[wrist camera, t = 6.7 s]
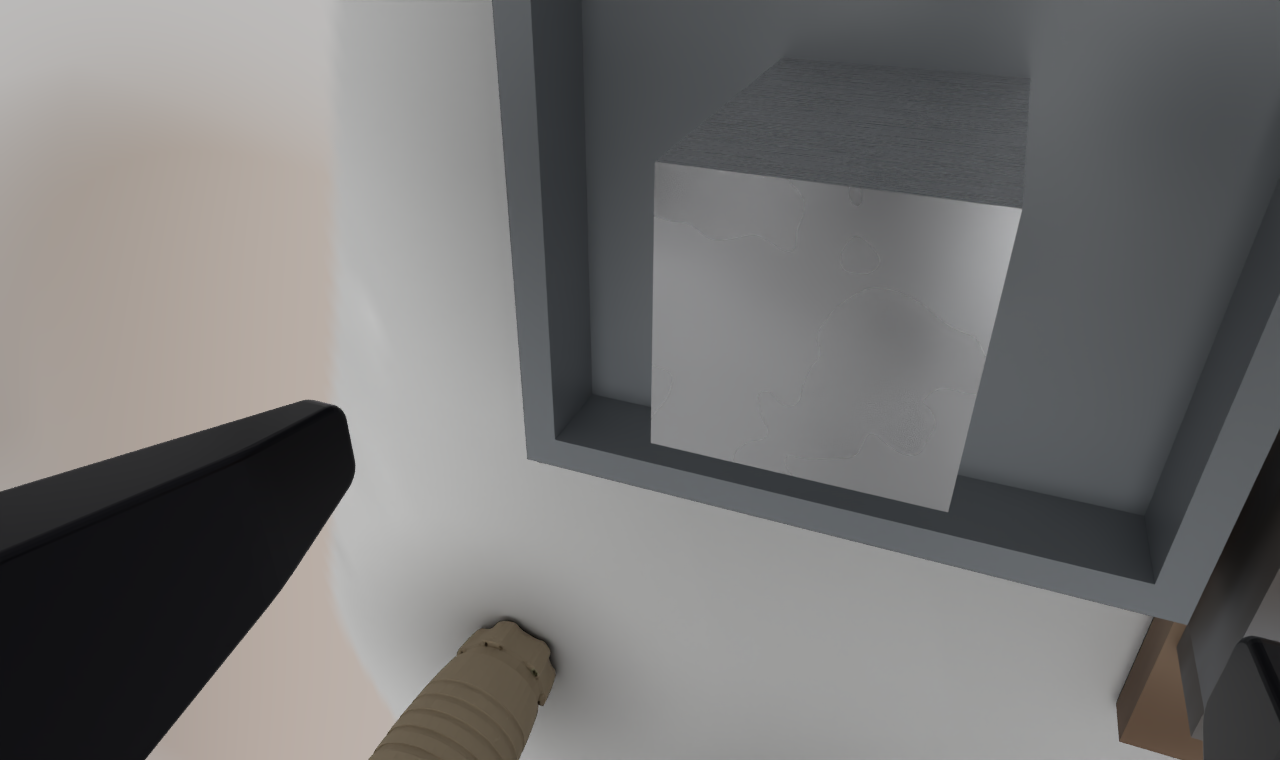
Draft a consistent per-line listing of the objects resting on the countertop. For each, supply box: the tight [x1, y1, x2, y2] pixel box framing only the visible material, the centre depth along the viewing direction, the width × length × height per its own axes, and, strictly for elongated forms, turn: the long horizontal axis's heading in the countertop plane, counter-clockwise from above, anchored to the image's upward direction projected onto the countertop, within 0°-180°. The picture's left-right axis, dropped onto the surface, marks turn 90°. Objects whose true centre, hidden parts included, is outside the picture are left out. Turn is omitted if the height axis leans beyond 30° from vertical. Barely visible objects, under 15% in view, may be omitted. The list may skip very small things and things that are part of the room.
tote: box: [492, 0, 1280, 625], centre depth 17 cm, size 15×15×3 cm
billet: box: [651, 57, 1031, 512], centre depth 15 cm, size 4×4×7 cm
